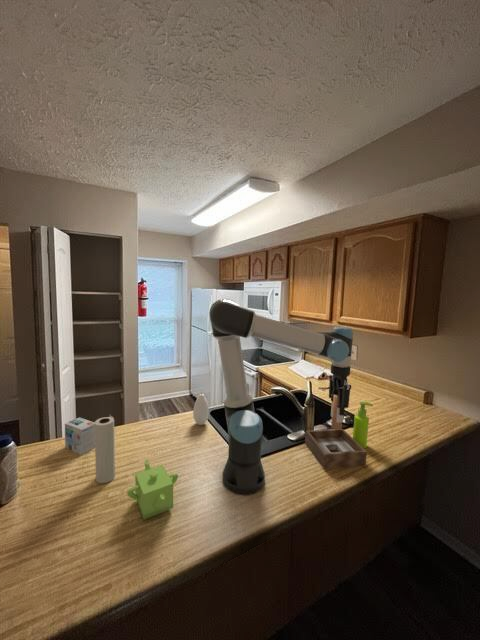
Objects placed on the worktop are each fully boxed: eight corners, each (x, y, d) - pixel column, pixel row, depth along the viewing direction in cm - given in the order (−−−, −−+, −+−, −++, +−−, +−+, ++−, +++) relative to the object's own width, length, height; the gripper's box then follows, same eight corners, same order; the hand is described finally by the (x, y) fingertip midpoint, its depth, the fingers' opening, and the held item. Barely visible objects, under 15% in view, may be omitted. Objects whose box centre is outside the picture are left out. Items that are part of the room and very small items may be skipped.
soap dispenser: (370, 449, 120) (374, 406, 118) (353, 447, 121) (357, 404, 119) (366, 442, 126) (370, 401, 123) (351, 440, 127) (354, 399, 125)
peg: (334, 430, 112) (336, 397, 111) (329, 425, 116) (331, 394, 114) (343, 429, 113) (345, 397, 111) (338, 425, 117) (340, 393, 115)
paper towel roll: (102, 486, 92) (101, 426, 89) (92, 479, 95) (90, 421, 92) (121, 474, 98) (120, 417, 96) (110, 468, 101) (109, 413, 99)
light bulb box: (64, 448, 112) (63, 423, 111) (80, 440, 118) (79, 416, 117) (81, 455, 108) (80, 429, 107) (96, 447, 114) (96, 422, 113)
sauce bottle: (210, 421, 140) (211, 387, 138) (206, 428, 132) (207, 393, 130) (196, 419, 141) (196, 386, 139) (190, 426, 133) (191, 391, 131)
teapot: (145, 485, 93) (145, 456, 92) (182, 490, 91) (183, 461, 90) (119, 522, 78) (119, 488, 77) (163, 530, 76) (164, 495, 75)
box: (323, 469, 105) (324, 454, 105) (304, 443, 123) (305, 430, 122) (365, 465, 108) (367, 451, 108) (341, 440, 126) (342, 428, 125)
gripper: (361, 370, 104) (357, 428, 106) (338, 359, 120) (334, 409, 123) (343, 371, 102) (339, 430, 105) (322, 359, 119) (319, 410, 122)
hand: (336, 419), depth 114 cm, fingers closed on peg, 4 cm apart
